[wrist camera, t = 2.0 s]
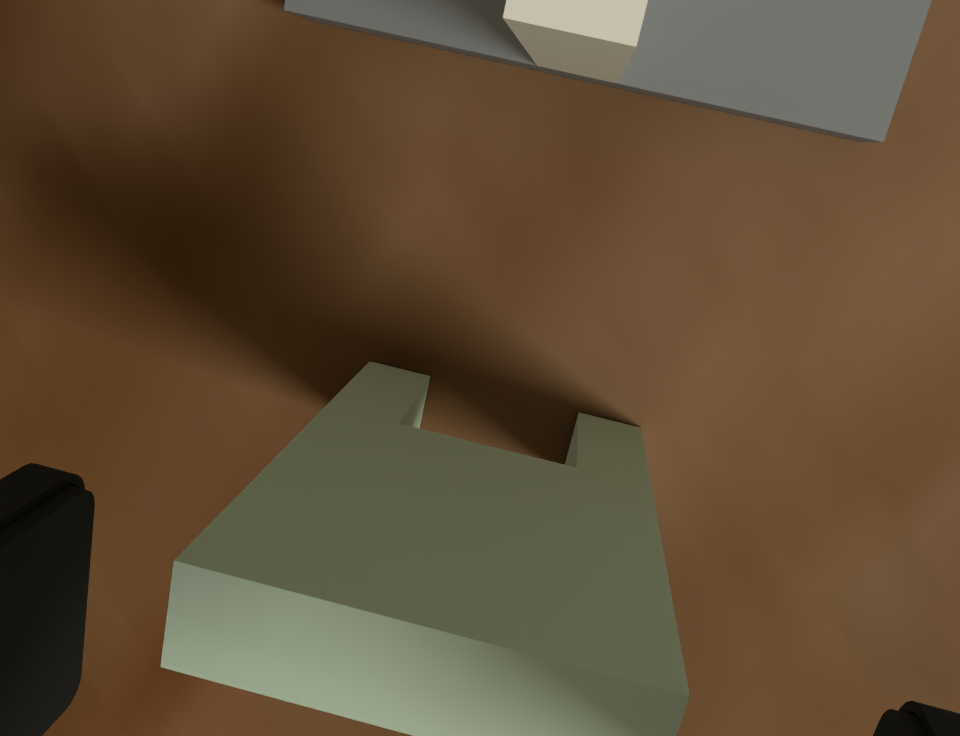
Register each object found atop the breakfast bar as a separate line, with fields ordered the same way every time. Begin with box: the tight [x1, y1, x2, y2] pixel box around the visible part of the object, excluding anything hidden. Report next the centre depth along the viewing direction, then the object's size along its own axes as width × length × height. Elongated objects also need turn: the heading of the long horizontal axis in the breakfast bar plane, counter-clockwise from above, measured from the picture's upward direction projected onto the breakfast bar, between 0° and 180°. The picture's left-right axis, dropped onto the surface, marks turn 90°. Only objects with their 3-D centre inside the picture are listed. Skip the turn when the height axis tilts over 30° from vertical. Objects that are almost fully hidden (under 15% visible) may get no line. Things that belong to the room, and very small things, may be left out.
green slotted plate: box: [161, 361, 690, 736], centre depth 16 cm, size 7×2×10 cm, turn 78°
